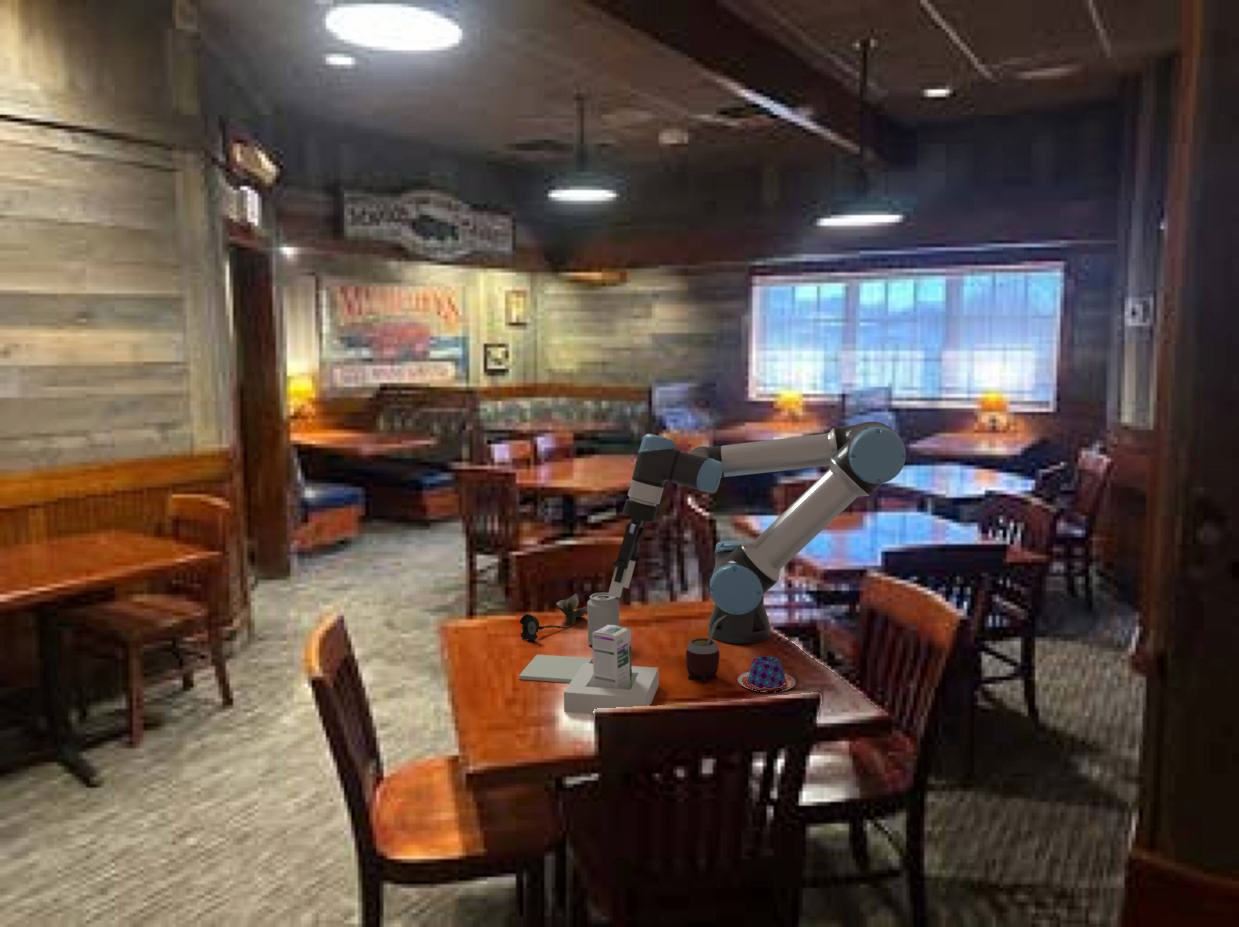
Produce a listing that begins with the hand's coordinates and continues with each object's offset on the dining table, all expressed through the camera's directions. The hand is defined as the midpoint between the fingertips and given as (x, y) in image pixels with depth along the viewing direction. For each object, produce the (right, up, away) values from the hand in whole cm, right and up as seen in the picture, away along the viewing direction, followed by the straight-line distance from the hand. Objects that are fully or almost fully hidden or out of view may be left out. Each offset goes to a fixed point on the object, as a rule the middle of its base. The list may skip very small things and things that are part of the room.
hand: (618, 591), depth 205 cm
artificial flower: (-16, -13, +20) cm, 29 cm away
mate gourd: (+18, -17, -14) cm, 28 cm away
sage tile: (-14, -16, -8) cm, 23 cm away
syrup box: (-1, -19, -24) cm, 30 cm away
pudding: (+31, -17, -16) cm, 39 cm away
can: (-4, -14, +8) cm, 17 cm away
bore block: (-1, -18, -24) cm, 30 cm away
